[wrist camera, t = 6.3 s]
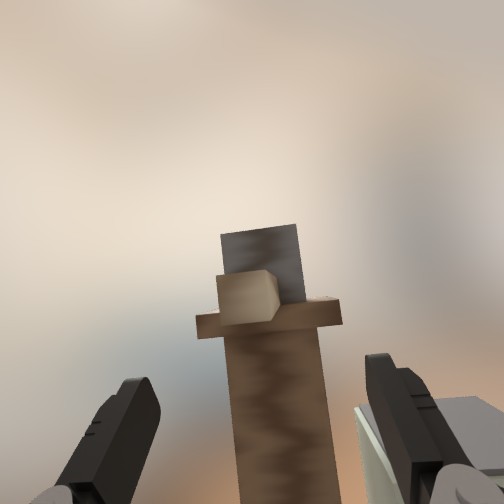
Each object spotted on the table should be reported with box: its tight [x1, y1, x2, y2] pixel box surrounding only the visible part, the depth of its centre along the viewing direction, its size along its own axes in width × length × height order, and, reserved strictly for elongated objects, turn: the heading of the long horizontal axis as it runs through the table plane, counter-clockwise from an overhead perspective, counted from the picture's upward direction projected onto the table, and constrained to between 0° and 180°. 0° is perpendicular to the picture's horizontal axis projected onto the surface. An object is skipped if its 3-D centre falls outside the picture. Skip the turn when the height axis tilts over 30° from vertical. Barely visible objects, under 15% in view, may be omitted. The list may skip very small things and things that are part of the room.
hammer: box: [216, 224, 307, 326], centre depth 23 cm, size 7×17×7 cm, turn 173°
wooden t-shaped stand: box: [196, 296, 343, 504], centre depth 27 cm, size 12×8×32 cm, turn 83°
